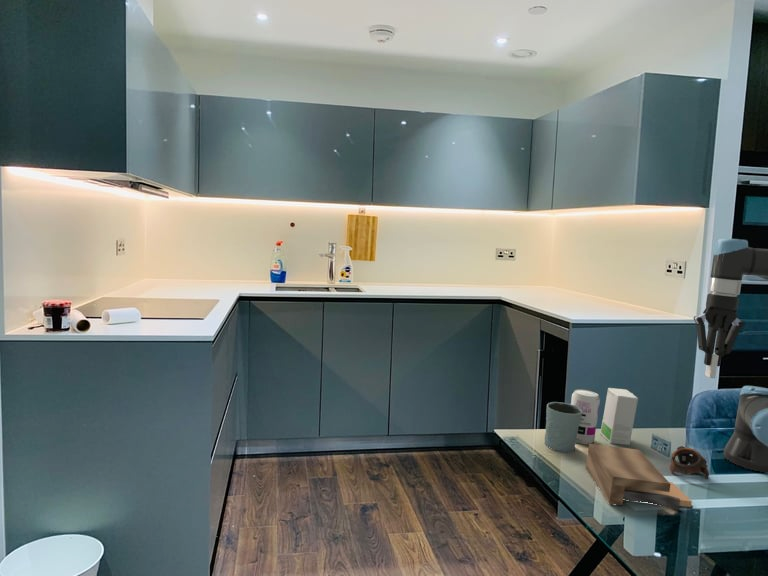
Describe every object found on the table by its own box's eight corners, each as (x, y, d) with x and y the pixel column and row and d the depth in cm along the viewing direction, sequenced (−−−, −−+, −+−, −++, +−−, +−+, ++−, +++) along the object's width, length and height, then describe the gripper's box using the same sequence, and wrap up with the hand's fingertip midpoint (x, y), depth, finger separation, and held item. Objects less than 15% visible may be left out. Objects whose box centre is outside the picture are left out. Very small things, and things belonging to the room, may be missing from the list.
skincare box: (599, 433, 176) (606, 387, 175) (620, 435, 176) (627, 389, 175) (610, 444, 168) (617, 395, 166) (631, 445, 168) (639, 397, 166)
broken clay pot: (718, 485, 146) (712, 462, 143) (682, 495, 147) (676, 472, 145) (695, 456, 157) (690, 434, 154) (662, 466, 159) (656, 444, 156)
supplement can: (588, 436, 173) (595, 390, 172) (597, 446, 165) (604, 398, 163) (563, 433, 174) (569, 387, 172) (570, 443, 165) (577, 395, 164)
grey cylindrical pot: (567, 440, 168) (572, 402, 167) (583, 454, 158) (589, 414, 157) (536, 439, 166) (541, 401, 165) (551, 453, 156) (556, 412, 155)
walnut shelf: (650, 476, 146) (654, 451, 146) (683, 514, 127) (688, 486, 126) (585, 468, 148) (589, 443, 147) (608, 504, 128) (612, 476, 127)
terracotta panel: (671, 489, 141) (672, 482, 141) (690, 509, 131) (691, 501, 131) (608, 482, 142) (609, 475, 141) (623, 501, 132) (624, 493, 132)
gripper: (740, 295, 154) (727, 376, 157) (692, 290, 156) (680, 370, 158) (755, 298, 147) (741, 383, 150) (705, 293, 148) (692, 377, 151)
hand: (709, 376), depth 154 cm, fingers closed
